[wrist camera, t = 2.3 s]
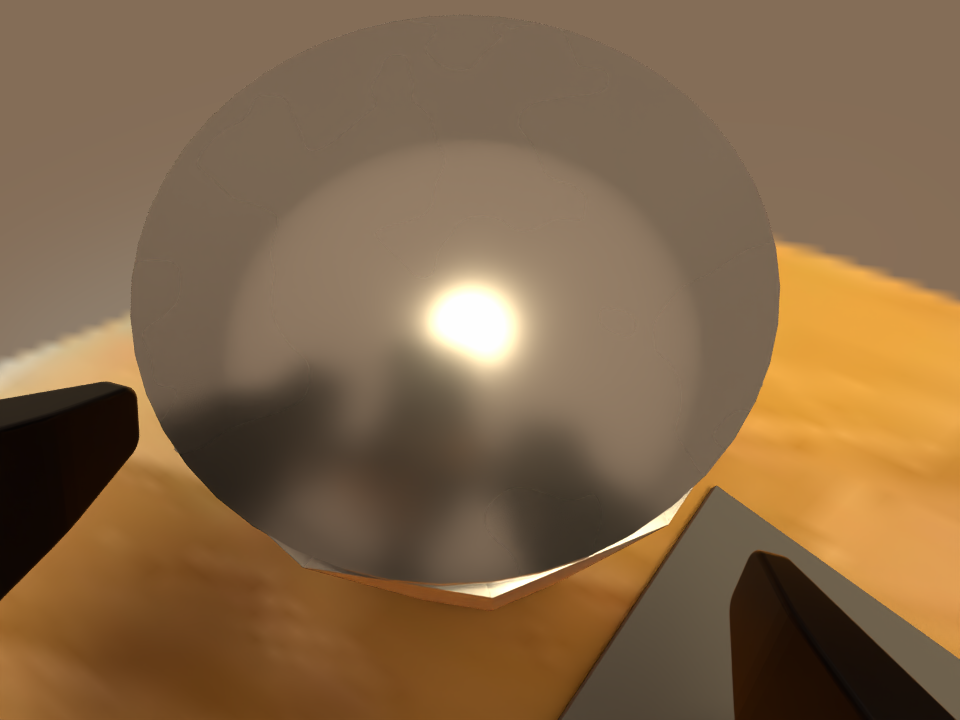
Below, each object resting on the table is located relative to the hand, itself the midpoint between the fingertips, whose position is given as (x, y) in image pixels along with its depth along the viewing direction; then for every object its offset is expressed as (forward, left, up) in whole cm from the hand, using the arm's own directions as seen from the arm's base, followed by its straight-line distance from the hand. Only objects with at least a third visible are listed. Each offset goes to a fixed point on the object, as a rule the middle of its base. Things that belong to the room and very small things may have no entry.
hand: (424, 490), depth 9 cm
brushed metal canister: (+2, +1, -9) cm, 10 cm away
